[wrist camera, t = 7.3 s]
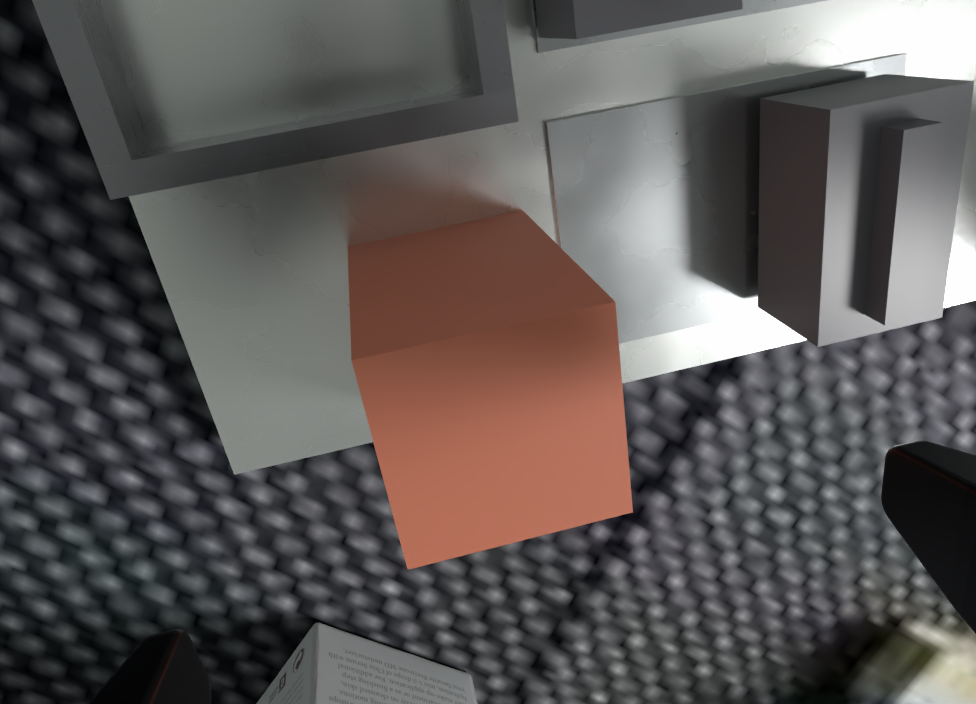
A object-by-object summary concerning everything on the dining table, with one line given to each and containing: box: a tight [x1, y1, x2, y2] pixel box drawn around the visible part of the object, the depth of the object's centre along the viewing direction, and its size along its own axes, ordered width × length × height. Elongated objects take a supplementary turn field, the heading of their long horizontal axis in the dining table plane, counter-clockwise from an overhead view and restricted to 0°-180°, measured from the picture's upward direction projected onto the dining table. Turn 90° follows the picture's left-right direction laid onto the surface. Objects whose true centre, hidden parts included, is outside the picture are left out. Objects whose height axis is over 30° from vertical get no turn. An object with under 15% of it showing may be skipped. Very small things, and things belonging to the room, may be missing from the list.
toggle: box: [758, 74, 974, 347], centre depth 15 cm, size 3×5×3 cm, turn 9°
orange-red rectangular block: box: [347, 211, 633, 569], centre depth 14 cm, size 4×4×6 cm
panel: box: [32, 0, 976, 475], centre depth 15 cm, size 24×16×3 cm, turn 99°
